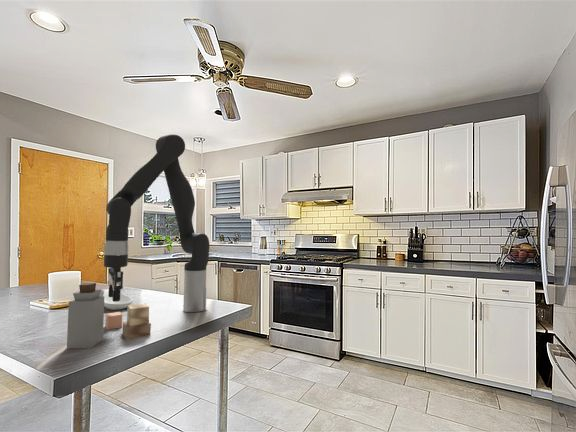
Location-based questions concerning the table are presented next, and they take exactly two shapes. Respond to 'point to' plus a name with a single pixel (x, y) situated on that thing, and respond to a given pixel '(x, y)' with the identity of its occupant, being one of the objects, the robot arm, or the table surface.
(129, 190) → the robot arm
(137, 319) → the tower cube
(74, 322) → the perfume bottle
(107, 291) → the spoon rest
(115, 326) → the block
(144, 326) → the tower base
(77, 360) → the table surface
